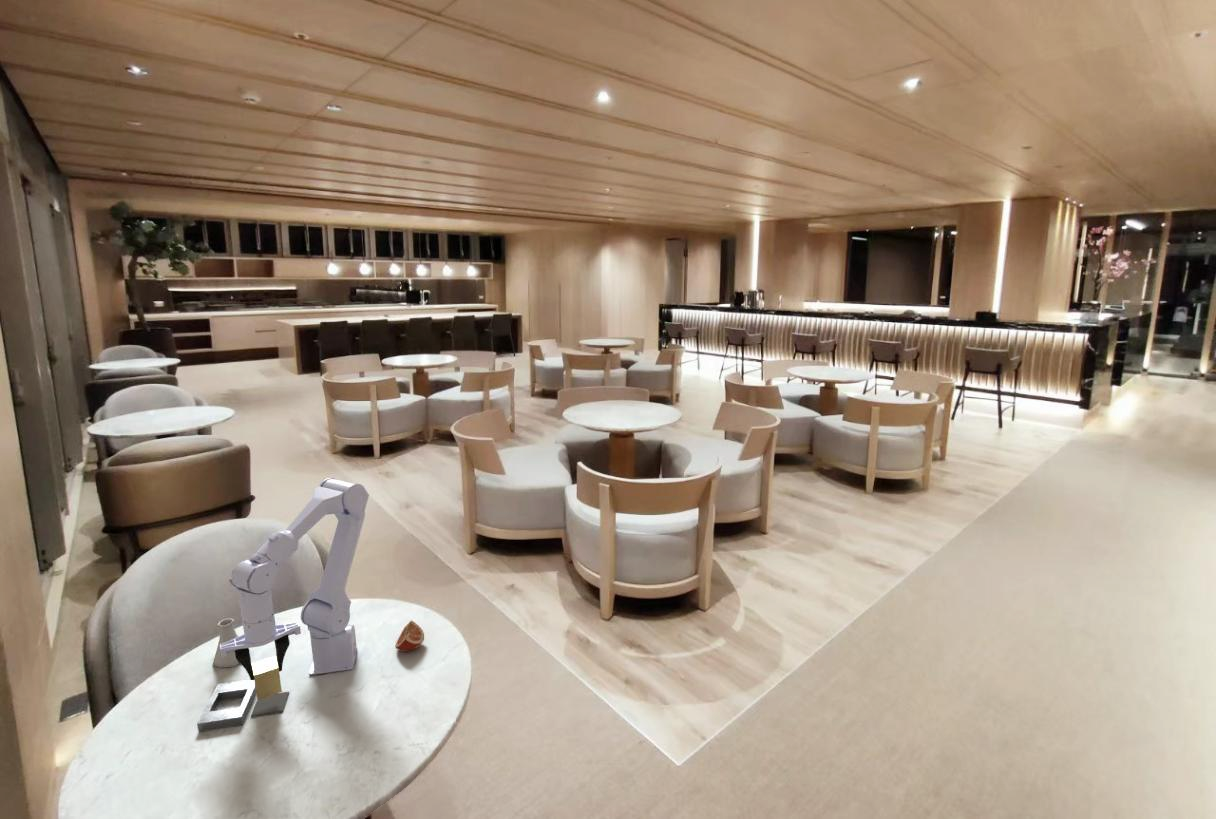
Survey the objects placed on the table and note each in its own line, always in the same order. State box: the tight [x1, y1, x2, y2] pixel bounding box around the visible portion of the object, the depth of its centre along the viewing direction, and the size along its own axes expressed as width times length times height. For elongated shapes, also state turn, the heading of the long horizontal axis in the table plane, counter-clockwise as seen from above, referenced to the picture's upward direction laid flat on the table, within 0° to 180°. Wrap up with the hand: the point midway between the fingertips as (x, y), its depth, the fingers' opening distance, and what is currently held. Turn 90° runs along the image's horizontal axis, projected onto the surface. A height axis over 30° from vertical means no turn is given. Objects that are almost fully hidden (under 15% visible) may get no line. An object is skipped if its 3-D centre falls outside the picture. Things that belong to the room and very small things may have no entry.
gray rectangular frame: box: [196, 679, 257, 733], centre depth 130 cm, size 8×12×2 cm, turn 15°
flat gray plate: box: [250, 691, 290, 718], centre depth 131 cm, size 6×6×1 cm
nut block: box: [251, 655, 283, 701], centre depth 129 cm, size 4×4×6 cm
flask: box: [212, 618, 251, 669], centre depth 144 cm, size 7×7×10 cm
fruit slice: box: [395, 620, 425, 652], centre depth 151 cm, size 8×7×5 cm
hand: (266, 673), depth 129 cm, fingers closed on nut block, 4 cm apart
